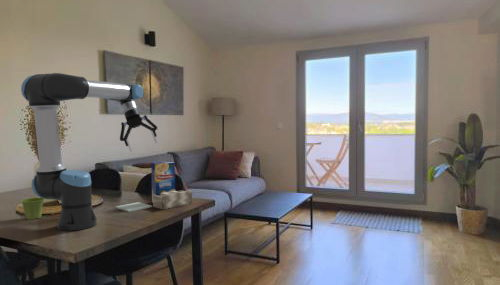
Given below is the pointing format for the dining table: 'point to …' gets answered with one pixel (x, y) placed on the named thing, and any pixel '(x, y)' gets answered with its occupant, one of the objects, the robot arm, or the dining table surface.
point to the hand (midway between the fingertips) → (143, 146)
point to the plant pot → (33, 207)
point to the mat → (133, 206)
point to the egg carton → (172, 200)
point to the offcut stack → (168, 193)
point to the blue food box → (162, 177)
